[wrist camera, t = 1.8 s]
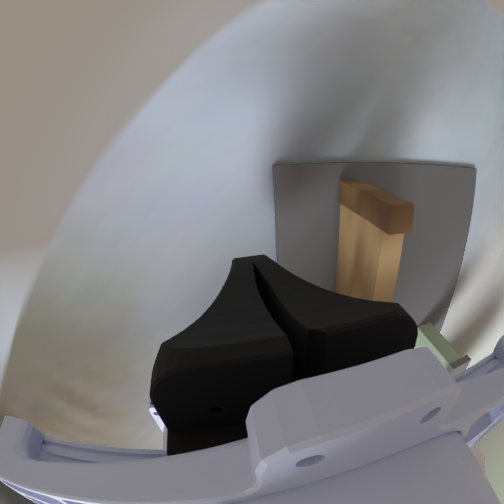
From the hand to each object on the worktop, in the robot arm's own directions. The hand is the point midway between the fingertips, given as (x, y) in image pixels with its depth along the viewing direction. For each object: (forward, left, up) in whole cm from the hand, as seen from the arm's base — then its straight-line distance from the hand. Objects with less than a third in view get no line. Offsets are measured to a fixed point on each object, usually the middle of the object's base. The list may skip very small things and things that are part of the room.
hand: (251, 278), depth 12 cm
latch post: (-10, -15, -4) cm, 19 cm away
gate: (-2, -6, -3) cm, 7 cm away
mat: (-4, -10, -4) cm, 12 cm away
